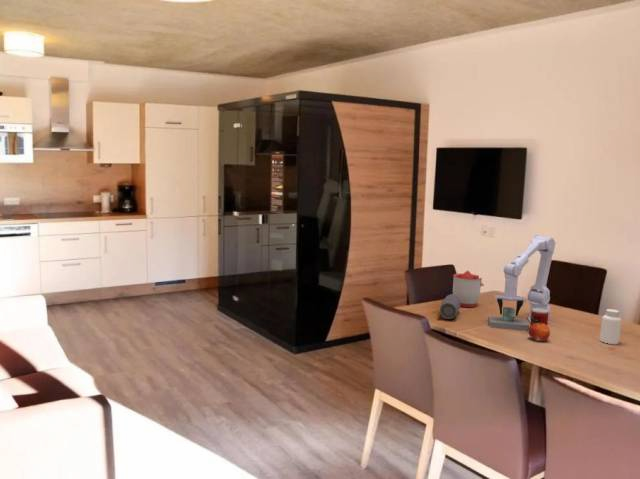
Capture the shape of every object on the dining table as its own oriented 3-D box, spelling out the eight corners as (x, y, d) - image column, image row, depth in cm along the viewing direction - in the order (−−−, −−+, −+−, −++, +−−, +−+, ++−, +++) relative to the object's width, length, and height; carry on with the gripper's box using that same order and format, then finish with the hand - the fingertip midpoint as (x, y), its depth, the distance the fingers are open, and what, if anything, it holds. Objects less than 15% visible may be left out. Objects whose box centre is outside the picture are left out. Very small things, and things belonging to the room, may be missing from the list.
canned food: (546, 331, 273) (548, 309, 271) (547, 335, 265) (549, 312, 264) (529, 329, 275) (531, 307, 274) (529, 333, 268) (531, 310, 266)
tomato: (551, 343, 252) (552, 326, 251) (529, 341, 254) (531, 324, 253) (547, 337, 261) (548, 321, 260) (526, 335, 263) (527, 319, 262)
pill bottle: (618, 346, 253) (621, 313, 251) (598, 342, 257) (601, 310, 255) (619, 341, 260) (623, 310, 258) (600, 338, 264) (603, 307, 262)
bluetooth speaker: (457, 322, 282) (458, 303, 281) (438, 320, 285) (439, 300, 284) (460, 312, 304) (462, 294, 303) (443, 310, 307) (444, 292, 306)
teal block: (512, 319, 282) (513, 307, 282) (514, 322, 277) (515, 310, 277) (502, 318, 283) (503, 307, 283) (503, 321, 278) (504, 309, 278)
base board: (524, 323, 285) (525, 318, 285) (528, 330, 272) (529, 325, 272) (487, 320, 288) (488, 315, 288) (490, 327, 276) (490, 322, 275)
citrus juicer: (485, 309, 312) (488, 273, 310) (454, 308, 312) (457, 272, 310) (478, 302, 328) (481, 268, 325) (448, 301, 328) (450, 267, 325)
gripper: (496, 288, 275) (494, 315, 277) (527, 290, 273) (525, 318, 274) (495, 285, 282) (492, 312, 284) (525, 287, 280) (523, 314, 281)
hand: (508, 314), depth 280 cm, fingers open, 7 cm apart
